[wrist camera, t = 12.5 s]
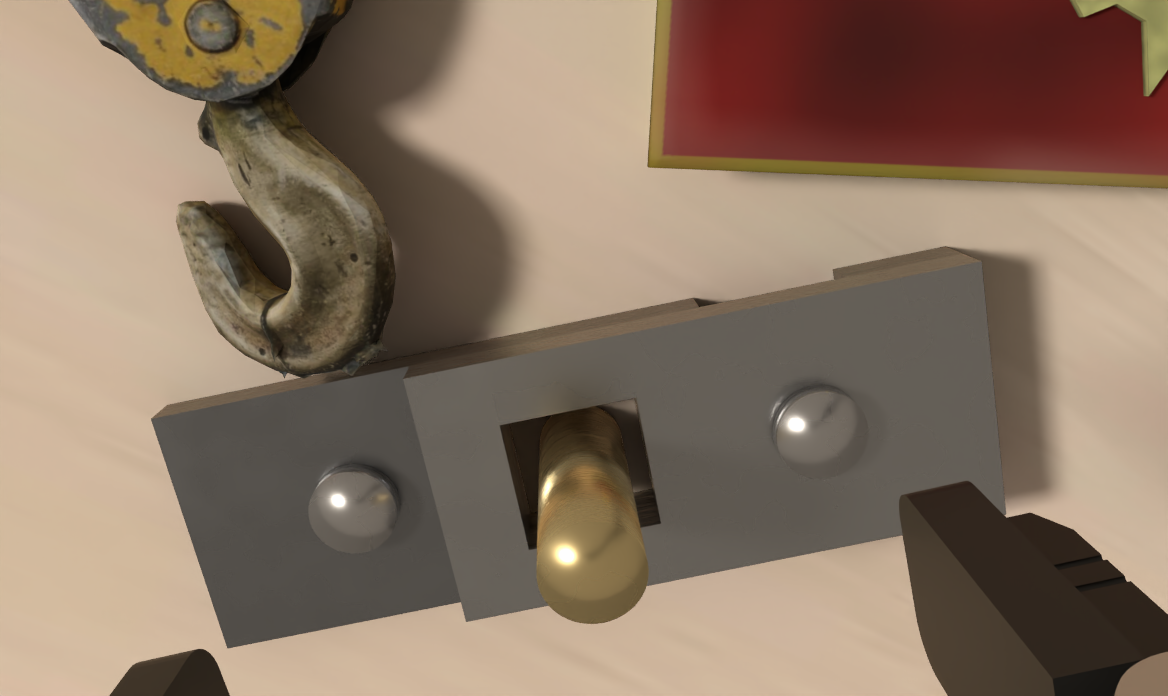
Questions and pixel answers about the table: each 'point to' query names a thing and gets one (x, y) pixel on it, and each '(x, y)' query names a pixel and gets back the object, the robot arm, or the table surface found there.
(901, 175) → the hardcover book
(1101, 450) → the table surface
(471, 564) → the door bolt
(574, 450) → the brass pin
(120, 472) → the table surface
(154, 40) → the pulley block
